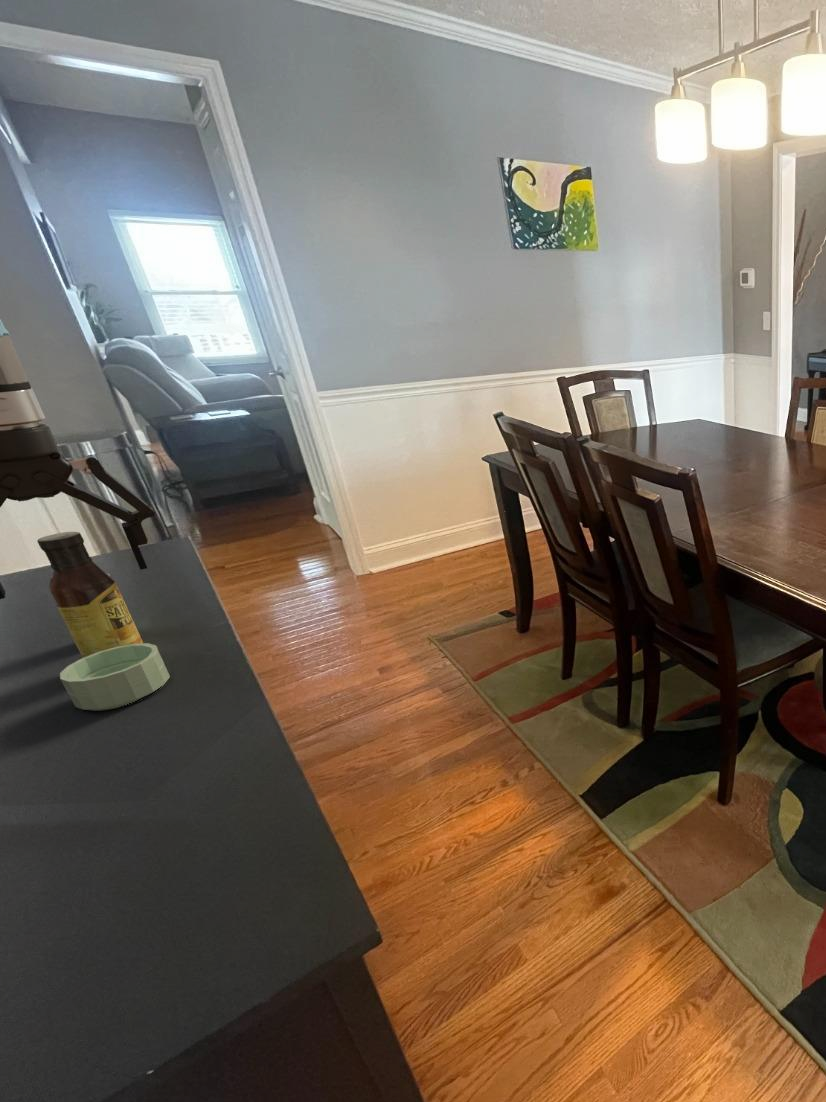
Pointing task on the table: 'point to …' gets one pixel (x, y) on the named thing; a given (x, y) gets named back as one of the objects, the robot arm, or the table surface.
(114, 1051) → the table surface
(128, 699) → the bowl
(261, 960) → the table surface
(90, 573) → the sauce bottle
